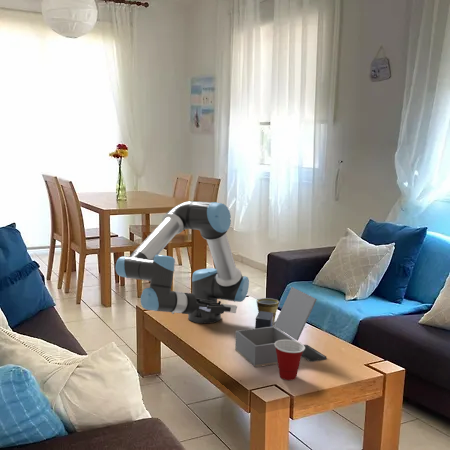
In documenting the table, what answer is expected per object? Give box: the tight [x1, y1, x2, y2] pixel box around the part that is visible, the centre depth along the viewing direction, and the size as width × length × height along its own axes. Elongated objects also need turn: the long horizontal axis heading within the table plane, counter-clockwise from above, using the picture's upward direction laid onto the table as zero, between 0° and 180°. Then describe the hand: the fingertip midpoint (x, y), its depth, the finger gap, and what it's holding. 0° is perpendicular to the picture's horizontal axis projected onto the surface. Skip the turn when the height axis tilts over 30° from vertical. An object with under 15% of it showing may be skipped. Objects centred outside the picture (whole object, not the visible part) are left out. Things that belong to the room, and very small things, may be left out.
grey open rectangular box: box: [234, 325, 297, 368], centre depth 219 cm, size 18×17×8 cm
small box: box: [254, 311, 274, 329], centre depth 237 cm, size 11×6×10 cm, turn 168°
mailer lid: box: [273, 286, 318, 342], centre depth 222 cm, size 18×17×1 cm
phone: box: [301, 344, 327, 363], centre depth 222 cm, size 8×1×15 cm
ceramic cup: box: [256, 297, 280, 324], centre depth 261 cm, size 13×10×10 cm
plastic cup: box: [274, 340, 305, 381], centre depth 199 cm, size 11×11×12 cm
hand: (235, 309), depth 216 cm, fingers closed
